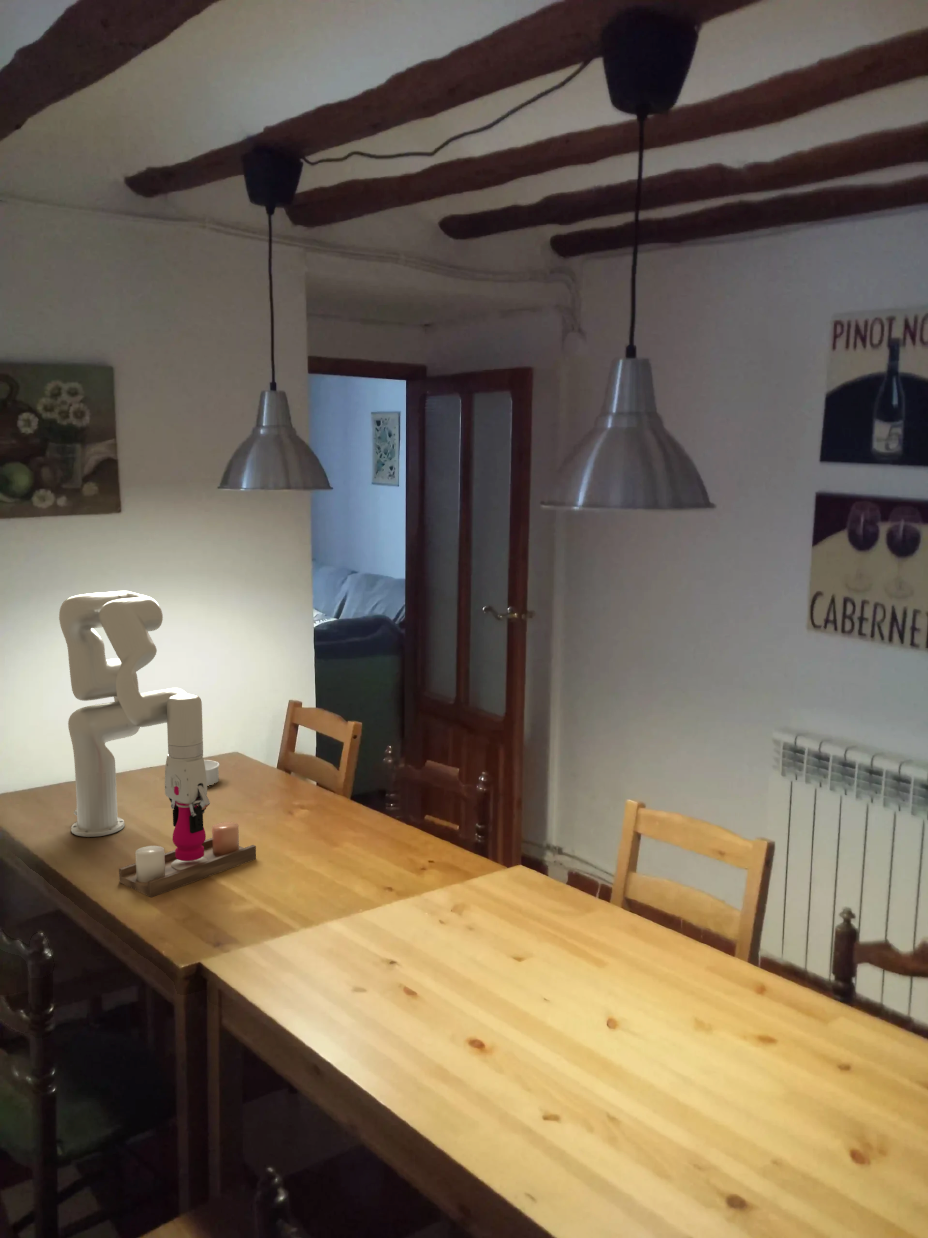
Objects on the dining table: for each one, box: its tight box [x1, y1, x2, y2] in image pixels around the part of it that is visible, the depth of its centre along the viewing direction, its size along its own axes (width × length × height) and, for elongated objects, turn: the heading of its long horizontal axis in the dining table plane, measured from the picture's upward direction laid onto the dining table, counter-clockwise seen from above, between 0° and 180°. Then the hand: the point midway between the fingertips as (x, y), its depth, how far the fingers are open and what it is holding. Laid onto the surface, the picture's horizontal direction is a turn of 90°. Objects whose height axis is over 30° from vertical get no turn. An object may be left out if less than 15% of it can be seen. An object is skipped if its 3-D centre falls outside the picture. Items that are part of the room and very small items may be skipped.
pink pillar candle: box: [211, 821, 240, 856], centre depth 233 cm, size 6×6×6 cm
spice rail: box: [118, 837, 257, 898], centre depth 225 cm, size 12×28×3 cm, turn 141°
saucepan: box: [204, 759, 221, 786], centre depth 292 cm, size 12×20×6 cm, turn 34°
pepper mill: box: [172, 786, 207, 861], centre depth 224 cm, size 7×7×20 cm
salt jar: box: [135, 845, 165, 883], centre depth 217 cm, size 6×6×6 cm
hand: (188, 827), depth 224 cm, fingers closed on pepper mill, 5 cm apart
